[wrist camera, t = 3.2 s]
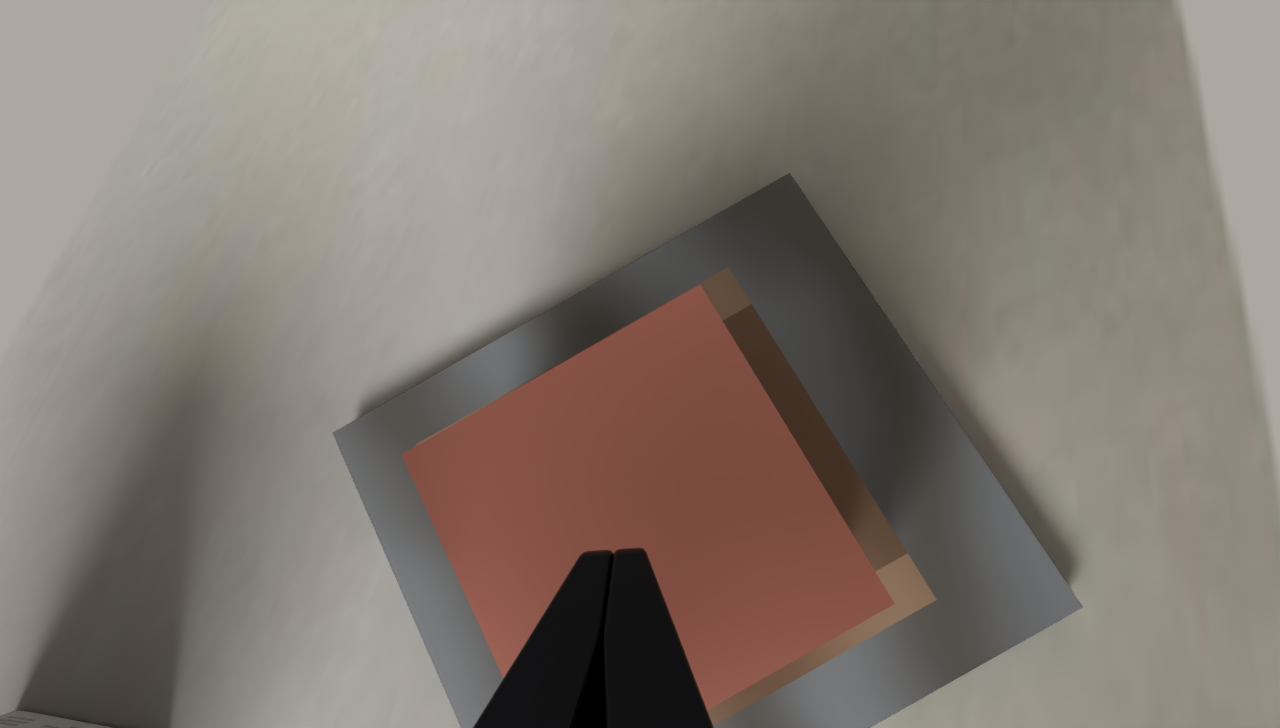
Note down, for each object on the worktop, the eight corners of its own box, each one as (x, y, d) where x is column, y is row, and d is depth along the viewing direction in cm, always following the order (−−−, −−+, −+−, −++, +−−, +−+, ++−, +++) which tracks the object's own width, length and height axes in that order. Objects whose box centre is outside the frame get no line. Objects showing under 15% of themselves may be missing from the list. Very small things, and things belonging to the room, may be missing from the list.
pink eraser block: (616, 687, 16) (556, 795, 10) (508, 469, 17) (401, 454, 12) (831, 565, 16) (894, 604, 10) (706, 357, 17) (700, 284, 11)
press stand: (551, 889, 21) (467, 1086, 14) (350, 435, 25) (203, 410, 18) (1062, 601, 21) (1236, 651, 14) (786, 188, 24) (812, 63, 17)
